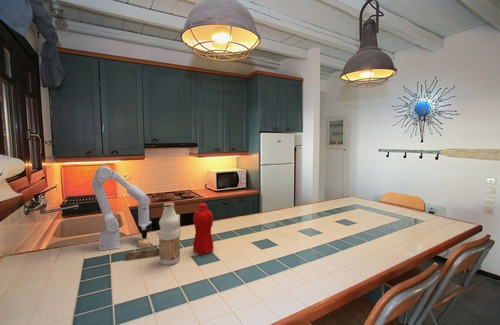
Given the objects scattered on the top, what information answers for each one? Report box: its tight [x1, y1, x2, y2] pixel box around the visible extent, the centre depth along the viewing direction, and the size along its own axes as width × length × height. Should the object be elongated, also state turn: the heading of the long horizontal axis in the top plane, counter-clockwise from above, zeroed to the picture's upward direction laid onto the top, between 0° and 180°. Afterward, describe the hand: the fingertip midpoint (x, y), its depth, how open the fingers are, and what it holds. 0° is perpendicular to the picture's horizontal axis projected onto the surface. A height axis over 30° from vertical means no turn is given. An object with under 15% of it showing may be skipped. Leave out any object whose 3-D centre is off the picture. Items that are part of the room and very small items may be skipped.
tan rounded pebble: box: [137, 237, 151, 249], centre depth 140 cm, size 6×6×3 cm
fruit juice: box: [158, 202, 181, 266], centre depth 121 cm, size 9×9×28 cm
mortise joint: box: [124, 242, 159, 261], centre depth 129 cm, size 16×9×4 cm, turn 111°
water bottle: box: [192, 203, 214, 255], centre depth 133 cm, size 9×11×25 cm
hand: (144, 238), depth 147 cm, fingers closed
